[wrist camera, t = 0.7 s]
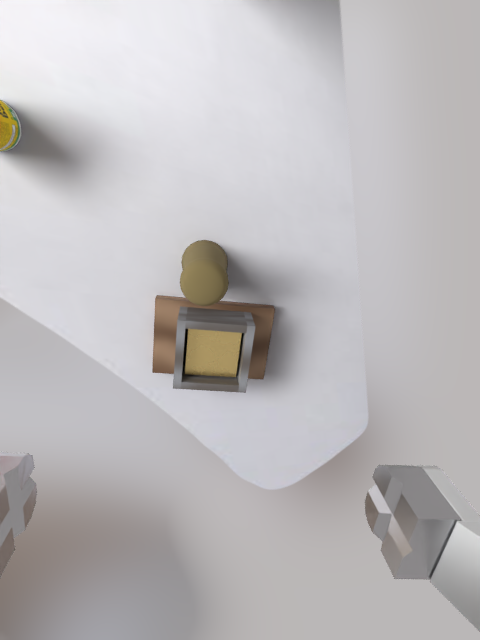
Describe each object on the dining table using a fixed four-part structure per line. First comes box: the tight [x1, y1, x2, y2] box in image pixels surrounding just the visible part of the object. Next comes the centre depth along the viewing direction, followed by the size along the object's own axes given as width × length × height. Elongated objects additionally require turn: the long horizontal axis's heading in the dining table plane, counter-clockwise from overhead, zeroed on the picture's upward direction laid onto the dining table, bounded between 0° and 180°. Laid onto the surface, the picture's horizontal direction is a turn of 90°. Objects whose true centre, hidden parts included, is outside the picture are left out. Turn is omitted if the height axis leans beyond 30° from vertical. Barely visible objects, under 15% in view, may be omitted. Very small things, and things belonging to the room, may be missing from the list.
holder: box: [153, 295, 275, 393], centre depth 48 cm, size 11×16×6 cm
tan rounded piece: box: [180, 240, 229, 306], centre depth 42 cm, size 6×6×11 cm
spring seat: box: [185, 329, 242, 377], centre depth 47 cm, size 7×7×1 cm
